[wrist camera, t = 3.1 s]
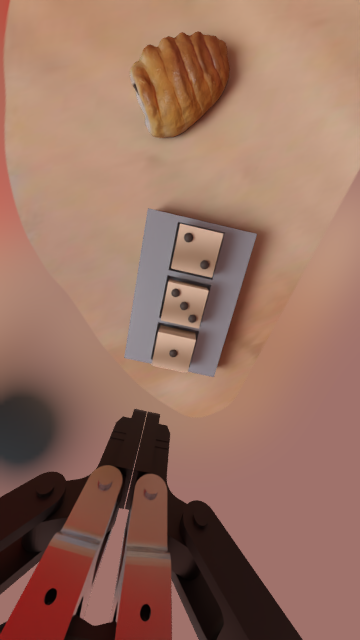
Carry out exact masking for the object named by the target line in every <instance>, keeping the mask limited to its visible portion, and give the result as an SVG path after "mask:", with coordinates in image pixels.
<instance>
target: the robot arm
mask: <svg viewBox="0 0 360 640" xmlns="http://www.w3.org/2000/svg"><path fill="white" fill-rule="evenodd" d="M146 413H147V412H146V411H142V410H138V409H134V412H133V415H132V418H127V417H122V418H121V419H120V420H119V421H118V422H117V423H116V425H115V427H114V429H113V432H112V434H111V437H110V439H109V441H108V444H107V446H106V449H105V451H104V453H103V456H102V458H101V461H100V463H99V465H98V467H97V468H96V470H94V471H93V472H92V473H91V474H90V475H89V476H87V477H85V478H82V479H77V480H70V481H66V480H65V478H64V476H63V475H61V474H60V473H58V472H47V473H43V474H41V475H39V476H37V477H35V478H34V479H32V480H30V481H28V482H27V483H25V484H23V485H21V486H20V487H18V488H16V489H14V490H12V491H11V492H9V493H7V494H5V495H4V496H2V497H1V498H0V594H1V593H2V592H4V591H5V590H6V589H7V588H9V587H10V586H11V585H12V584H13V583H14V582H16V581H17V580H18V579H19V578H20V577H21V576H23V575H24V574H25V573H26V572H27V571H29V570H30V569H31V568H32V567H33V566H35V565H36V564H37V563H38V562H39V561H40V562H39V563H38V565H37V567H36V569H35V571H34V573H33V574H32V577H31V578H30V580H29V582H28V584H27V586H26V587H25V589H24V591H23V593H22V595H21V597H20V599H19V600H18V602H17V604H16V606H15V608H14V610H13V611H12V614H11V615H10V617H9V619H8V621H7V622H5V623H3V624H1V625H0V640H172V600H171V579H172V581H173V583H174V585H175V588H176V590H177V592H178V595H179V597H180V599H181V601H182V603H183V606H184V608H185V610H186V612H187V614H188V616H189V619H190V621H191V623H192V625H193V628H194V630H195V632H196V634H197V637H198V639H199V640H302V638H301V637H300V635H299V634H298V632H297V631H296V630H295V628H294V627H293V625H292V624H291V622H290V621H289V620H288V618H287V617H286V615H285V614H284V613H283V611H282V610H281V608H280V607H279V605H278V604H277V602H276V601H275V599H274V598H273V597H272V595H271V594H270V592H269V591H268V589H267V588H266V587H265V585H264V584H263V582H262V581H261V579H260V578H259V577H258V575H257V574H256V572H255V571H254V569H253V568H252V566H251V565H250V564H249V562H248V561H247V559H246V558H245V556H244V555H243V554H242V552H241V551H240V549H239V548H238V546H237V545H236V544H235V542H234V541H233V539H232V538H231V536H230V535H229V534H228V532H227V531H226V529H225V528H224V526H223V525H222V523H221V522H220V521H219V519H218V518H217V516H216V515H215V513H214V512H213V511H212V509H211V508H210V507H209V506H208V505H207V504H206V503H204V502H202V501H192V502H189V503H188V504H186V503H184V502H183V501H181V500H179V499H178V498H176V497H175V496H174V495H173V494H172V493H171V491H170V490H169V488H168V485H167V479H166V478H167V464H168V453H169V441H170V432H169V429H168V427H167V426H166V425H161V424H159V418H160V414H157V413H152V412H148V413H147V417H146ZM145 417H146V422H145ZM144 422H145V426H144ZM143 426H144V430H143ZM142 430H143V434H142ZM141 435H142V438H141ZM140 439H141V442H140ZM139 443H140V447H139ZM138 447H139V451H138ZM137 451H138V455H137ZM136 456H137V459H136ZM135 460H136V463H135ZM134 463H135V468H134ZM133 468H134V472H133ZM132 472H133V476H132V481H131V485H130V489H129V494H128V498H127V502H126V507H125V509H128V510H129V514H128V518H127V523H126V527H125V531H124V537H123V543H122V549H121V556H120V562H119V568H118V575H117V581H116V588H115V594H114V600H113V605H112V610H111V616H110V621H109V623H106V624H102V625H98V626H92V625H91V624H89V623H87V622H86V621H85V620H83V619H84V616H85V612H86V609H87V606H88V602H89V598H90V595H91V592H92V589H93V586H94V582H95V580H96V577H97V573H98V571H99V568H100V564H101V562H102V558H103V555H104V552H105V550H106V546H107V543H108V540H109V537H110V534H111V531H112V528H113V526H114V524H115V521H116V517H117V513H118V510H119V508H123V509H124V505H125V501H126V496H127V492H128V488H129V484H130V480H131V475H132Z"/></svg>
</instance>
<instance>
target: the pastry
mask: <svg viewBox="0 0 360 640" xmlns="http://www.w3.org/2000/svg"><path fill="white" fill-rule="evenodd" d="M228 78H229V62H228V57H227V47H226V44H225V42H223V41H222V40H219V39H217V37H216V36H210V35H203V34H202V33H201V32H199V31H198V32H195V33H194V34H193V35H191V36H189V35H186V34H185V33H183V32H182V33H180V34H179V35H178V36H177V37H175V38H172V37H169V36H168V37H166V38H163V39H162V40H161V42H160V44H159V46H158V47H154V46H152V45H147V47H146V48H144V50H143V52H142V54H141V57H140V59H139V61H138V62H135V63H134V64H133V66H132V68H131V69H130V79H131V82H132V85H133V87H134V88H135V90H136V96H137V100H138V102H139V105H140V106H141V109H142V111H143V113H144V114H145V123H146V126H147V128H148V131H149V133H150V134H151V135H152V136H154V137H159V138H164V137H175V136H177V135H179V134H181V133H182V132H185V131H186V130H187V129H188V128H189V127H190V126H192V125H193V124H194V123H195V122H196V121H197V120H199V119H200V118H201V117H202V116H203V115H204V114H205V113H206V111H207V110H208V109H209V108H210V107H211V106H212V105H213V104H214V103H215V102H216V101H217V100H218V99H219V98H220V96H221V94H222V92H223V90H224V88H225V86H226V83H227V81H228Z"/></svg>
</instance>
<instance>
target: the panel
mask: <svg viewBox="0 0 360 640" xmlns="http://www.w3.org/2000/svg"><path fill="white" fill-rule="evenodd" d="M180 224H184V225H188V226H193V227H197V228H201V229H206V230H210V231H214V232H218V233H223V238H222V242H221V245H220V249H219V253H218V257H217V261H216V265H215V269H214V272H213V276H212V278H211V277H207V276H202V275H198V274H194V273H189V272H185V271H180V270H176V269H172V268H171V266H172V261H173V256H174V251H175V246H176V241H177V237H178V232H179V227H180ZM256 236H257V234H255V233H251V232H247V231H243V230H238V229H234V228H230V227H225V226H221V225H217V224H213V223H208V222H204V221H200V220H196V219H191V218H187V217H183V216H178V215H174V214H170V213H166V212H161V211H157V210H153V209H149V208H148V212H147V218H146V224H145V230H144V237H143V243H142V249H141V256H140V262H139V268H138V275H137V281H136V287H135V294H134V300H133V306H132V313H131V319H130V325H129V331H128V338H127V344H126V350H125V357H124V358H127V359H132V360H137V361H141V362H146V363H151V364H152V360H153V356H154V351H155V346H156V341H157V336H158V331H159V329H160V326H161V325H163V326H168V327H172V328H177V329H181V330H186V331H190V332H195V335H196V342H195V346H194V349H193V353H192V357H191V361H190V365H189V369H188V372H192V373H197V374H202V375H206V376H211V377H214V375H215V372H216V368H217V365H218V362H219V358H220V355H221V352H222V348H223V345H224V342H225V338H226V335H227V332H228V329H229V325H230V322H231V319H232V315H233V312H234V309H235V305H236V302H237V299H238V295H239V292H240V289H241V286H242V282H243V279H244V276H245V272H246V269H247V266H248V262H249V259H250V256H251V252H252V249H253V246H254V242H255V239H256ZM170 279H172V280H176V281H181V282H185V283H190V284H194V285H198V286H203V287H207V289H208V290H209V292H208V295H207V299H206V303H205V307H204V311H203V315H202V319H201V322H200V326H199V329H198V328H193V327H189V326H184V325H180V324H175V323H171V322H166V321H161V316H162V311H163V306H164V301H165V296H166V291H167V286H168V281H169V280H170Z"/></svg>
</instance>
